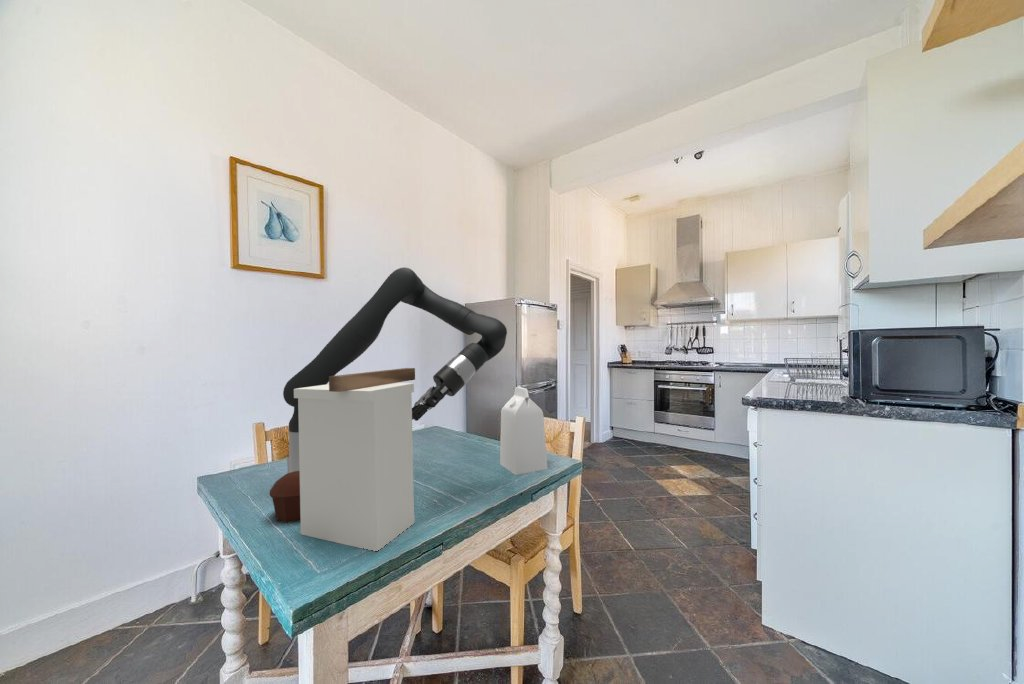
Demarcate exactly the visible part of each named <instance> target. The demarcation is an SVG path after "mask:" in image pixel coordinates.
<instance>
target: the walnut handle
mask: <svg viewBox="0 0 1024 684" xmlns="http://www.w3.org/2000/svg"><path fill="white" fill-rule="evenodd" d="M414 380H416V368H415V367H403V368H402V367H401V368H393V369H384V370H375V371H366V372H357V373H348V374H347V373H346V374H339V375H337V374H336V375H335V376H329V382H328V384H329V391H332V392H342V391H348V390H355V389H361V388H367V387H373V386H379V385H385V384H392V383H405V382H409V381H414Z"/></svg>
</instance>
